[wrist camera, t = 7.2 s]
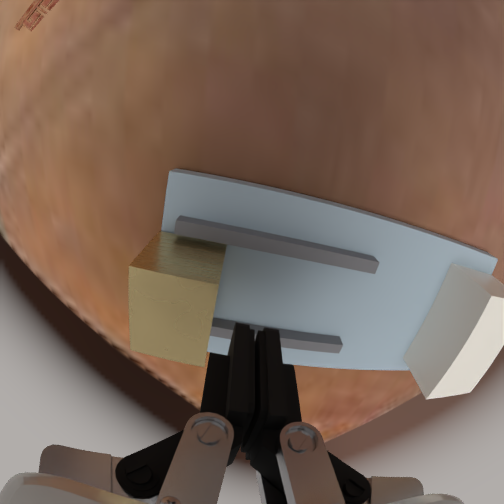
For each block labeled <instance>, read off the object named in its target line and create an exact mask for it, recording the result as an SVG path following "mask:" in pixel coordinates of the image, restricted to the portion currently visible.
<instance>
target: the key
mask: <svg viewBox="0 0 504 504" xmlns="http://www.w3.org/2000/svg"><path fill="white" fill-rule="evenodd" d="M51 1H52V0H44V1H43V0H35V1H34V2H33V3H32V4H31V6H30V7H29V8H28V10H27V11H26V12H25V13H24V15H23V16H22V18H21V19H20V20H19V22H18V23H17V25H16V26H15V28H16V29H17V30H20V28H21V27H22V26H23V25H24V26H25V27H27V28H28V29H30V28H31V27H32V25H33V24H34V22H35V21H36V20H37V19H38V17H39V16H40V15H41V14H40V13H39V12H37V11H35V10H36V9H37V8H38V9H39V10H40V11H42V12H43V13H45V14H47V12H46V11H44V10H43V9H42V8H40V7H39V5H42V6H43V7H45V8H46V7H47V6H48V5H49V4H50V3H51ZM58 1H59V0H54V1H53V2H52V3H51V4H50V5H49V6H48V8H47V9H48V10H49V11H50V10H51V9H52V7H53V6H54V5H55V4H56V3H57V2H58ZM34 11H35V12H34ZM32 14H33V15H32ZM31 15H32V16H31ZM30 16H31V17H30ZM43 17H44V16H43V15H41V16H40V18H39V19H38V20H37V22H36V23H35V24H34V26H33V27H32V28H31V30H30V31H32V30H33V29H34V28H35V27H36V25H37V24H38V23H39V22H40V21H41V20H42V18H43ZM29 18H30V19H31V22H30V21H28V19H29Z"/></svg>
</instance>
